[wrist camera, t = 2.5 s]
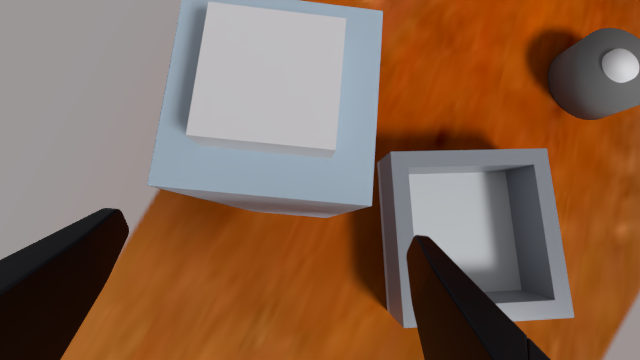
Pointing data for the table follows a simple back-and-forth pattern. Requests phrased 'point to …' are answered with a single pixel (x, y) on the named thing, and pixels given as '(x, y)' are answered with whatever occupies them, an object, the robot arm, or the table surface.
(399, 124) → the table surface
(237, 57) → the tall grey rectangular prism
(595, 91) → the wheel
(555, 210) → the tray
